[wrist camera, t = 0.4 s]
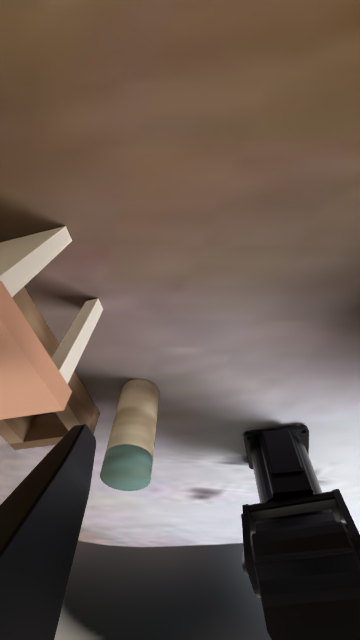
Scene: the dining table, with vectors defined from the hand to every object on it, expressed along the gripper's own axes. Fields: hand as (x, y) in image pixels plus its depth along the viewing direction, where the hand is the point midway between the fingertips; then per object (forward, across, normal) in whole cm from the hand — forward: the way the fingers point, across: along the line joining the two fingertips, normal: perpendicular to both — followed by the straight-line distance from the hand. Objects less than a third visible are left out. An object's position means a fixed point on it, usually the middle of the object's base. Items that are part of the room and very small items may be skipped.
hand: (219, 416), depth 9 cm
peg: (+13, +8, +11) cm, 19 cm away
